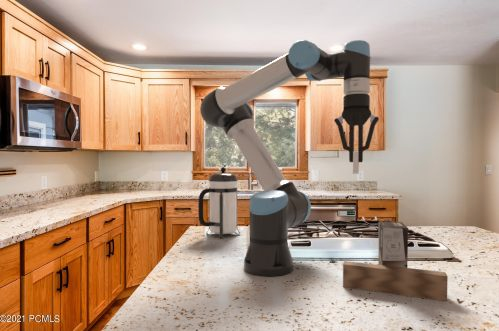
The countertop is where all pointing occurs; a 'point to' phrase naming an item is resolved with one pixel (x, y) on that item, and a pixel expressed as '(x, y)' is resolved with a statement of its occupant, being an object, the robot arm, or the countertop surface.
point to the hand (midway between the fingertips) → (355, 173)
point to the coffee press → (221, 204)
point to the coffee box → (393, 244)
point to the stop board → (395, 280)
